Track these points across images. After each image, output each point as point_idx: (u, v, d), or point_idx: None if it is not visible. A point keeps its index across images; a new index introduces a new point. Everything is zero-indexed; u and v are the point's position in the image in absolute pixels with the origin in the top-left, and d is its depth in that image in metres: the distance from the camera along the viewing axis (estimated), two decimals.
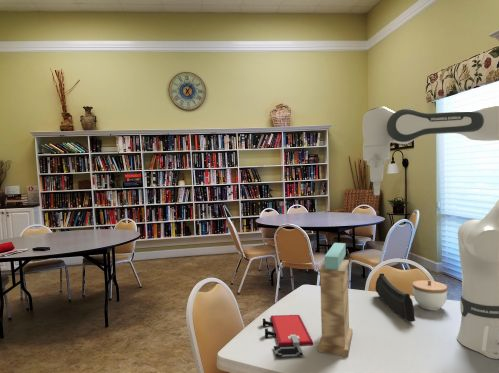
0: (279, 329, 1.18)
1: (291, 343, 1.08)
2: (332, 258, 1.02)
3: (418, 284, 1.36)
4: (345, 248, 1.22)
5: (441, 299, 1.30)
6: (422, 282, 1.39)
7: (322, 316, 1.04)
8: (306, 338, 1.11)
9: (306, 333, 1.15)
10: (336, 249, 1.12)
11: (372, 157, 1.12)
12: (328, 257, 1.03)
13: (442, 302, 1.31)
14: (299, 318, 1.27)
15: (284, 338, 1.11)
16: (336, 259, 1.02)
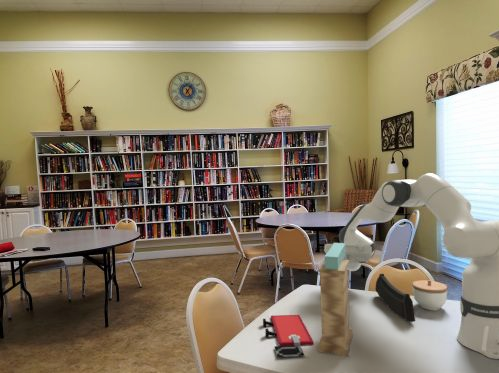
0: (280, 329, 1.18)
1: (292, 343, 1.08)
2: (332, 258, 1.02)
3: (418, 284, 1.36)
4: (345, 248, 1.22)
5: (441, 299, 1.30)
6: (422, 282, 1.39)
7: (322, 316, 1.04)
8: (306, 338, 1.11)
9: (307, 333, 1.15)
10: (336, 249, 1.12)
11: None
12: (328, 257, 1.03)
13: (442, 302, 1.31)
14: (299, 318, 1.27)
15: (284, 338, 1.11)
16: (336, 259, 1.02)
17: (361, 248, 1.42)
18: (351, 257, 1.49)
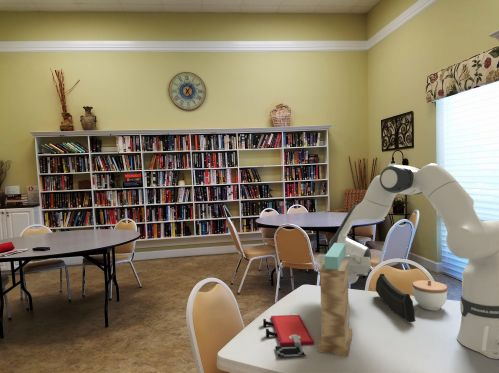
0: (280, 329, 1.18)
1: (292, 343, 1.08)
2: (332, 258, 1.02)
3: (418, 284, 1.36)
4: (345, 248, 1.22)
5: (441, 299, 1.30)
6: (422, 282, 1.39)
7: (322, 316, 1.04)
8: (307, 338, 1.11)
9: (307, 333, 1.15)
10: (336, 249, 1.12)
11: None
12: (328, 257, 1.03)
13: (442, 302, 1.31)
14: (299, 318, 1.27)
15: (285, 338, 1.11)
16: (336, 259, 1.02)
17: (358, 260, 1.26)
18: (348, 269, 1.33)
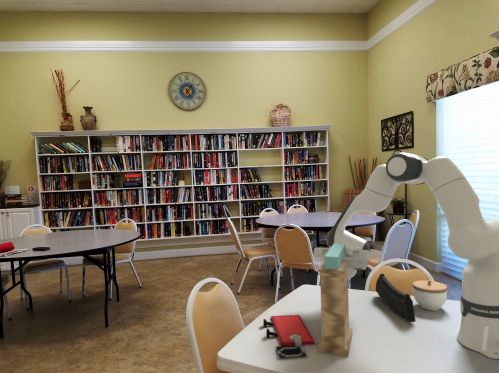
0: (281, 329, 1.18)
1: (293, 343, 1.08)
2: (332, 258, 1.02)
3: (418, 284, 1.36)
4: None
5: (441, 299, 1.30)
6: (422, 282, 1.39)
7: (322, 316, 1.04)
8: (307, 338, 1.11)
9: (307, 333, 1.15)
10: (336, 249, 1.12)
11: None
12: (328, 257, 1.03)
13: (442, 302, 1.31)
14: (299, 318, 1.27)
15: (285, 338, 1.11)
16: (336, 259, 1.02)
17: (351, 252, 1.21)
18: None
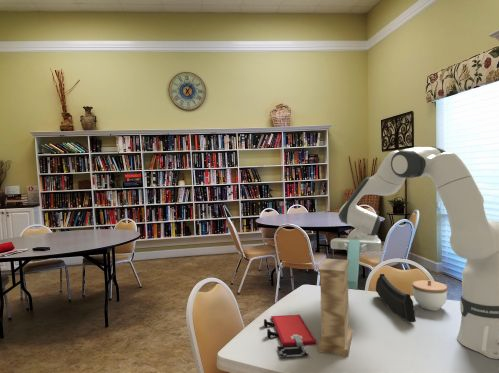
0: (281, 329, 1.18)
1: (294, 343, 1.08)
2: (351, 282, 1.17)
3: (418, 284, 1.36)
4: (359, 244, 1.34)
5: (441, 299, 1.30)
6: (422, 282, 1.39)
7: (322, 316, 1.04)
8: (308, 338, 1.11)
9: (308, 333, 1.15)
10: (353, 259, 1.25)
11: None
12: (348, 281, 1.17)
13: (442, 302, 1.31)
14: (299, 318, 1.27)
15: (287, 338, 1.11)
16: (355, 283, 1.17)
17: (365, 248, 1.33)
18: None
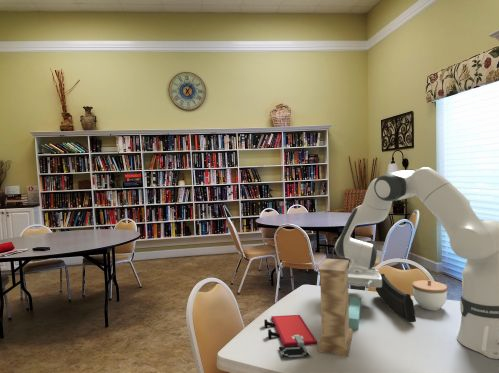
0: (282, 330, 1.18)
1: (296, 343, 1.08)
2: (353, 320, 1.19)
3: (418, 284, 1.36)
4: None
5: (441, 299, 1.30)
6: (422, 282, 1.39)
7: (322, 316, 1.04)
8: (310, 338, 1.11)
9: (309, 333, 1.15)
10: (355, 307, 1.29)
11: None
12: (350, 319, 1.19)
13: (442, 302, 1.31)
14: (300, 318, 1.27)
15: (288, 338, 1.11)
16: (357, 321, 1.18)
17: (371, 285, 1.33)
18: None
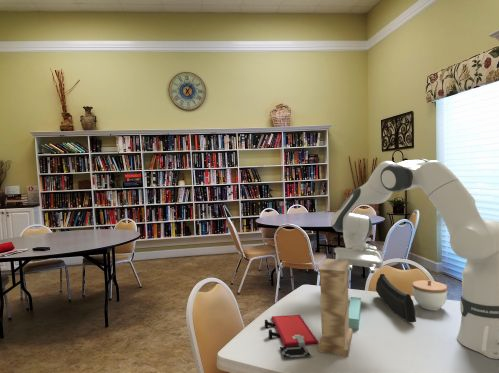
0: (283, 330, 1.18)
1: (297, 343, 1.08)
2: (353, 320, 1.19)
3: (418, 284, 1.36)
4: None
5: (441, 299, 1.30)
6: (422, 282, 1.39)
7: (322, 316, 1.04)
8: (310, 338, 1.11)
9: (310, 333, 1.15)
10: (355, 307, 1.29)
11: None
12: (350, 319, 1.19)
13: (442, 302, 1.31)
14: (300, 318, 1.27)
15: (288, 338, 1.11)
16: (357, 321, 1.18)
17: (374, 268, 1.45)
18: None
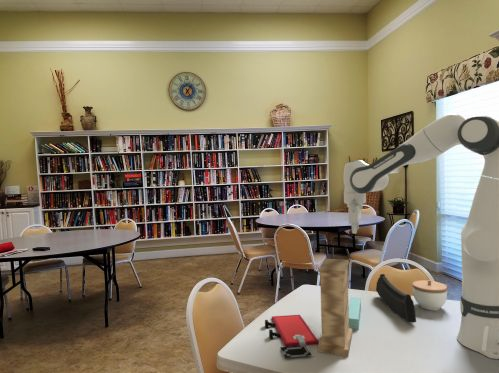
0: (283, 330, 1.17)
1: (297, 343, 1.08)
2: (353, 320, 1.19)
3: (418, 284, 1.36)
4: None
5: (441, 299, 1.30)
6: (422, 282, 1.39)
7: (322, 316, 1.04)
8: (311, 338, 1.11)
9: (310, 333, 1.15)
10: (354, 307, 1.29)
11: (351, 202, 1.37)
12: (350, 319, 1.19)
13: (442, 302, 1.31)
14: (300, 318, 1.27)
15: (289, 338, 1.11)
16: (357, 321, 1.18)
17: None
18: None
